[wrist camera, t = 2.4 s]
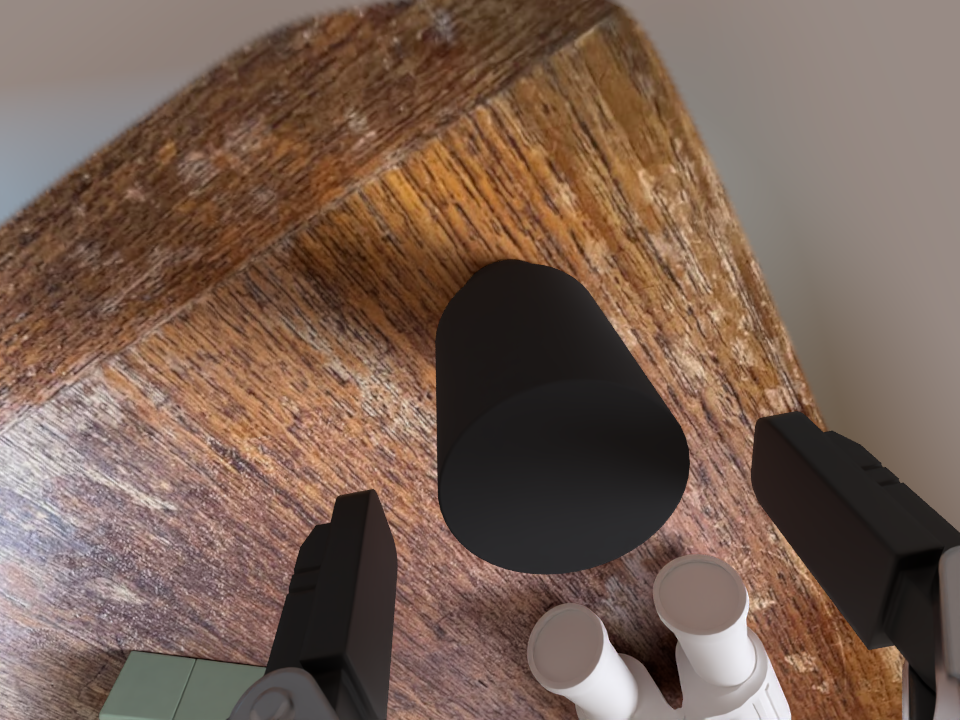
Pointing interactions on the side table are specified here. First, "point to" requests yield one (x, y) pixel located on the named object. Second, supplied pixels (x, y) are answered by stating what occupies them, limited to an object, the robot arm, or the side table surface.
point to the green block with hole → (177, 688)
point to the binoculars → (699, 653)
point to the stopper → (548, 426)
